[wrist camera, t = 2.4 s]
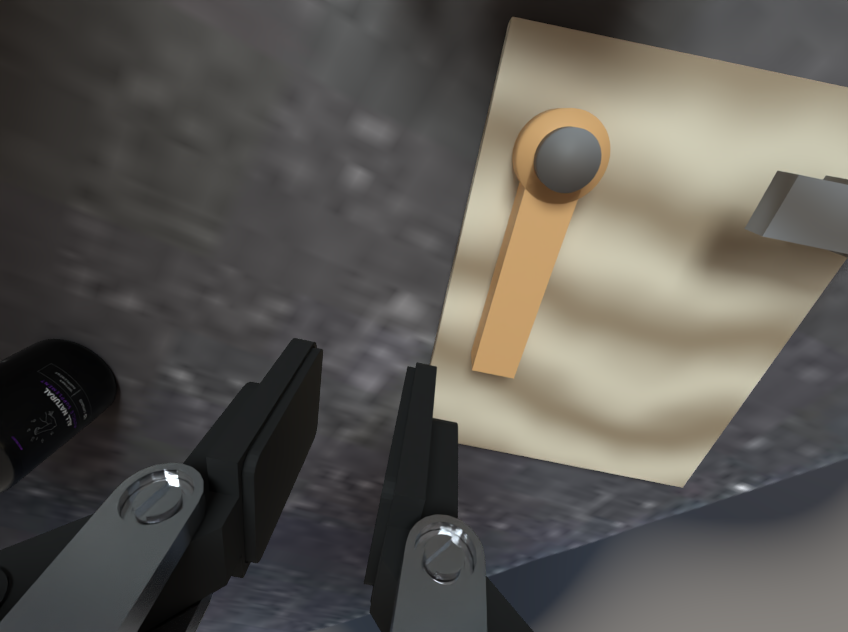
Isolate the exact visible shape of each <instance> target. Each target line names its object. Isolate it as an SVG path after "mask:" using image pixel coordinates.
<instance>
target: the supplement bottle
mask: <svg viewBox="0 0 848 632" xmlns="http://www.w3.org/2000/svg"><path fill="white" fill-rule="evenodd" d="M115 396H116V382H115V378H114V376H113V374H112V372H111V370H110V369H109V367H108V366H107V365H106V363H105V362H104V361H103V360H102V359H101V358H100V357H99V356H97V355H96V354H95V353H94V352H92V351H91V350H89V349H87V348H86V347H84V346H82V345H79V344H77V343H74V342H71V341H67V340H61V339H48V340H43V341H40V342H37V343H35V344H33V345H31V346H29V347H27V348H25V349H23V350H21V351H19V352H17V353H15V354H13V355H11V356H9V357H8V358H6V359H4V360H2V361H0V493H2V492H4V491H6V490H8V489H9V488H11V487H12V486H13V485H15V484H16V483H17V482H19V481H20V480H21V479H22V478H24V477H25V476H26V475H27V474H28V473H30V472H31V471H32V470H33V469H34V468H36V467H37V466H38V465H39V464H41V463H42V462H43V461H44V460H45V459H47V458H48V457H49V456H50V455H52V454H53V453H54V452H55V451H56V450H58V449H59V448H60V447H61V446H63V445H64V444H65V443H66V442H67V441H69V440H70V439H71V438H72V437H74V436H75V435H76V434H77V433H78V432H80V431H81V430H82V429H83V428H85V427H86V426H87V425H88V424H89V423H91V422H92V421H93V420H94V419H95V418H97V417H98V416H99V415H100V414H101V413H103V412H104V411H105V410H106V409H107V408H108V407H109V406H110V405H111V404H112V403H113V401H114V399H115Z"/></svg>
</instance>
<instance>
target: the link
mask: <svg viewBox="0 0 848 632" xmlns="http://www.w3.org/2000/svg"><path fill="white" fill-rule="evenodd" d="M566 126H571V127H578V128H582V129H585V130H587V131H589V132H591V133H592V134H593V135H594V136H595V137H596V139H597V140H598V142H599V144H600V147H601V154H602V156H601V164H600V167H599V169H598V172H597V174H596V175H595V177H594V178H593V179H592V180H591V182H590V183H589V184H587V185H586V186H585V187H583V188H582V189H580V190H578V191H575V192H571V193H558V192H555V191H552V190H551V189H549V188H548V187H546V186H545V185H544V184H543V183H542V182H541V181H540V180H539V178H538V177H537V175H536V173H535V170H534V155H535V152H536V149H537V147H538V145H539V143H540V142H541V140H542V139H543V138H544V137H545V136H546V135H547V134H549V133H550V132H551V131H553V130H555V129H557V128H561V127H566ZM609 158H610V140H609V136H608V133H607V130H606V129H605V127H604V125H603V124H602V122H601V121H600V120H599V119H598V118H597V117H596V116H594V115H593V114H591V113H589V112H587V111H585V110H582V109H577V108H555V109H550V110H546V111H544V112H542V113H539V114H538V115H536V116H535V117H533V118H532V119H531V120H530V121H529V122H528V123H527V124H526V125H525V126H524V127H523V128H522V130H521V131H520V133H519V134H518V137H517V139H516V141H515V144H514V148H513V154H512V163H513V168H514V172H515V174H516V176H517V178H518V180H519V181H520V182H519V186H518V189H517V193H516V196H515V200H514V203H513V207H512V210H511V214H510V217H509V221H508V224H507V228H506V231H505V235H504V238H503V242H502V245H501V249H500V252H499V256H498V259H497V263H496V266H495V270H494V273H493V277H492V280H491V284H490V287H489V291H488V294H487V298H486V301H485V305H484V308H483V312H482V315H481V319H480V322H479V326H478V329H477V333H476V337H475V340H474V344H473V347H472V351H471V360H472V370H473V371H478V372H483V373H488V374H493V375H498V376H503V377H508V378H513V379H514V377H515V374H516V371H517V368H518V366H519V363H520V360H521V357H522V354H523V352H524V349H525V346H526V343H527V341H528V338H529V335H530V332H531V329H532V327H533V324H534V321H535V318H536V315H537V313H538V310H539V307H540V304H541V301H542V299H543V296H544V293H545V290H546V287H547V285H548V282H549V279H550V276H551V273H552V271H553V268H554V265H555V262H556V260H557V257H558V254H559V251H560V248H561V246H562V243H563V240H564V237H565V234H566V232H567V229H568V226H569V223H570V220H571V218H572V215H573V212H574V209H575V206H576V204H577V201H578V199H580V198H582V197H583V196H585V195H586V194H588V193H589V192H590V191H591V190H592V189H593V188H594V187H595V186H596V185H597V184H598V183H599V181H600V180H601V179H602V177H603V175H604V173H605V171H606V169H607V166H608V163H609Z"/></svg>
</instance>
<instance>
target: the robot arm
mask: <svg viewBox="0 0 848 632" xmlns="http://www.w3.org/2000/svg"><path fill="white" fill-rule="evenodd" d="M322 360H323V350H322V349H318V348H317V345H316V343H315V342H312V341H307V340H302V339H297V338H293V339H292V340H291V342H290V343H289V344H288V346H287V347H286V349H285V350H284V351H283V353H282V354H281V355H280V357H279V358H278V360H277V361H276V362H275V364H274V365H273V366H272V368H271V369H270V370H269V372H268V373H267V375H266V376H265V377H264V379H263V380H262V381H261V383H260V384H259V383H254V382H249V383H247V384H246V385H245V386H244V387H243V388H242V389H241V390H240V392H239V393H238V394H237V395H236V397H235V398H234V399H233V401H232V402H231V403H230V404H229V406H228V407H227V408H226V409H225V411H224V412H223V413H222V415H221V416H220V417H219V418H218V420H217V421H216V422H215V424H214V425H213V426H212V427H211V429H210V430H209V431H208V432H207V434H206V435H205V436H204V438H203V439H202V440H201V441H200V443H199V444H198V445H197V447H196V448H195V449H194V450H193V452H192V453H191V454H190V456H189V457H188V458H187V459H186V461H185V462H184V463H183V464H182V463H165V464H159V465H154V466H151V467H149V468H146V469H143V470H141V471H139V472H137V473H135V474H134V475H132V476H130V477H129V478H127V479H126V480H125V481H124V482H123V483H122V484H121V485H119V486H118V487H117V488H116V489H115V490H114V492H113V493H112V494H111V495H110V496H109V497H108V498H107V500H106V501H105V502H104V503H103V504H102V505H101V507H100V508H99V509H98V510H97V511H96V512H95V513H94V514H92V515H89V516H87V517H84V518H82V519H79V520H77V521H74V522H72V523H69V524H66V525H64V526H61V527H59V528H56V529H54V530H51V531H49V532H46V533H43V534H41V535H38V536H36V537H33V538H31V539H28V540H25V541H23V542H20V543H18V544H15V545H13V546H10V547H8V548H5V549H2V550H0V632H196V630H197V628H198V626H199V624H200V622H201V620H202V618H203V615H204V613H205V611H206V609H207V607H208V605H209V603H210V601H211V598H212V595H213V592H215V591H217V590H219V589H220V588H222V587H224V586H226V585H227V583H228V581H229V579H230V577H231V576H234V577H240V578H243V577H244V575H245V573H246V571H247V569H248V567H249V564H250V562H253V563H258V562H259V561H260V559H261V557H262V555H263V553H264V551H265V549H266V546H267V544H268V542H269V540H270V537H271V535H272V533H273V531H274V528H275V526H276V524H277V522H278V519H279V517H280V515H281V513H282V510H283V508H284V506H285V504H286V501H287V499H288V497H289V495H290V492H291V490H292V488H293V486H294V483H295V481H296V479H297V477H298V474H299V472H300V470H301V467H302V465H303V463H304V461H305V458H306V456H307V454H308V452H309V449H310V447H311V445H312V443H313V440H314V438H315V435H316V431H317V424H318V411H319V398H320V385H321V372H322ZM436 375H437V366H432V365H427V364H422V363H416V368H413V367H407V372H406V377H405V382H404V387H403V391H402V396H401V401H400V406H399V411H398V416H397V421H396V426H395V431H394V435H393V440H392V445H391V450H390V455H389V460H388V465H387V470H386V475H385V479H384V484H383V489H382V494H381V499H380V504H379V509H378V514H377V519H376V524H375V529H374V534H373V539H372V544H371V549H370V555H369V560H368V565H367V570H366V575H365V580H364V584H368V585H373V591H372V596H371V602H370V603H371V607H370V614H371V615H372V617H373V619H374V620H375V622H376V624H377V625H378V627H379V629H380V630H381V632H533V631H532V629H531V628H530V627H529V626H528V625H527V624H526V622H525V621H524V620H523V619H522V618H521V617H520V615H519V614H518V613H517V612H516V611H515V609H514V608H513V607H512V606H511V605H510V603H509V602H508V601H507V600H506V599H505V598H504V596H503V595H502V594H501V593H500V592H499V591H498V589H497V588H496V587H495V586H494V585H493V583H492V582H491V581H490V580H489V579H488V578H487V576H486V568H485V556H484V550H483V547H482V544H481V542H480V540H479V538H478V536H477V535H476V534H475V533H474V531H473V530H472V529H471V528H470V527H469V526H468V525H466V524H465V523H464V522H462V521H461V520H459V519H458V424H457V422H451V421H446V420H441V419H436V418H433V409H434V397H435V386H436Z"/></svg>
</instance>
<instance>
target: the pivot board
mask: <svg viewBox="0 0 848 632" xmlns="http://www.w3.org/2000/svg"><path fill="white" fill-rule="evenodd" d="M555 108H577V109H582V110H585V111H587V112H589V113H591V114H593V115H594V116H596V117H597V118H598V119H599V120H600V121H601V122H602V124H603V125H604V127H605V129H606V130H607V133H608V136H609V140H610V158H609V163H608V166H607V169H606V171H605V173H604V175H603V177H602V179H601V180H600V181H599V183H598V184H597V185H596V186H595V187H594V188H593V189H592V190H591V191H590V192H589V193H588V194H586V195H585V196H583V197H582V198H580V199H578V201H577V204H576V206H575V209H574V212H573V215H572V218H571V220H570V223H569V226H568V229H567V232H566V234H565V237H564V240H563V243H562V246H561V248H560V251H559V254H558V257H557V260H556V262H555V265H554V268H553V271H552V273H551V276H550V279H549V282H548V285H547V287H546V290H545V293H544V296H543V299H542V301H541V304H540V307H539V310H538V313H537V315H536V318H535V321H534V324H533V327H532V329H531V332H530V335H529V338H528V341H527V343H526V346H525V349H524V352H523V354H522V357H521V360H520V363H519V366H518V368H517V371H516V374H515V377H514V379H513V378H508V377H503V376H498V375H493V374H488V373H483V372H478V371H473V370H472V360H471V351H472V347H473V344H474V340H475V337H476V333H477V329H478V326H479V322H480V319H481V315H482V312H483V308H484V305H485V301H486V298H487V294H488V291H489V287H490V284H491V280H492V277H493V273H494V270H495V266H496V263H497V259H498V256H499V252H500V249H501V245H502V242H503V238H504V235H505V231H506V228H507V224H508V221H509V217H510V214H511V210H512V207H513V203H514V200H515V196H516V193H517V189H518V186H519V182H520V181H519V180H518V178H517V176H516V174H515V172H514V168H513V163H512V154H513V148H514V144H515V141H516V139H517V137H518V134H519V133H520V131H521V130H522V128H523V127H524V126H525V125H526V124H527V123H528V122H529V121H530V120H531V119H532V118H533V117H535V116H536V115H538V114H539V113H542V112H544V111H546V110H550V109H555ZM601 156H602V154H601V147H600V144H599V142H598V140H597V139H596V137H595V136H594V135H593V134H592V133H591V132H589V131H587V130H585V129H582V128H578V127H571V126H566V127H561V128H557V129H555V130H553V131H551V132H550V133H549V134H547V135H546V136H545V137H544V138H543V139H542V140H541V142H540V143H539V145H538V147H537V149H536V152H535V155H534V170H535V173H536V175H537V177H538V178H539V180H540V181H541V182H542V183H543V184H544V185H545V186H546V187H548V188H549V189H551V190H552V191H555V192H558V193H571V192H575V191H578V190H580V189H582V188H583V187H585V186H586V185H587V184H589V183H590V182H591V180H592V179H593V178H594V177H595V175H596V174H597V172H598V169H599V167H600V164H601ZM847 258H848V88H847V87H843V86H838V85H833V84H828V83H824V82H819V81H814V80H810V79H805V78H800V77H795V76H791V75H786V74H781V73H777V72H772V71H767V70H762V69H758V68H753V67H748V66H743V65H739V64H734V63H729V62H725V61H720V60H715V59H710V58H706V57H701V56H696V55H692V54H687V53H682V52H677V51H673V50H668V49H663V48H658V47H654V46H649V45H644V44H640V43H635V42H630V41H625V40H621V39H616V38H611V37H607V36H602V35H597V34H592V33H588V32H583V31H578V30H573V29H569V28H564V27H559V26H555V25H550V24H545V23H540V22H536V21H531V20H526V19H522V18H517V17H512V18H511V19H510V21H509V23H508V27H507V31H506V36H505V40H504V44H503V49H502V53H501V57H500V62H499V66H498V70H497V75H496V79H495V83H494V88H493V92H492V96H491V101H490V105H489V109H488V114H487V118H486V122H485V127H484V131H483V135H482V140H481V144H480V148H479V153H478V157H477V161H476V166H475V170H474V174H473V179H472V183H471V187H470V192H469V196H468V200H467V205H466V209H465V213H464V218H463V222H462V226H461V231H460V235H459V239H458V244H457V248H456V252H455V257H454V261H453V265H452V270H451V274H450V278H449V283H448V287H447V291H446V296H445V300H444V304H443V309H442V313H441V317H440V322H439V326H438V330H437V335H436V339H435V343H434V348H433V352H432V356H431V361H430V365H432V366H437V375H436V386H435V397H434V409H433V418H436V419H441V420H446V421H451V422H457V424H458V443H460V444H465V445H470V446H475V447H480V448H485V449H490V450H495V451H500V452H505V453H510V454H515V455H520V456H525V457H531V458H536V459H541V460H546V461H551V462H556V463H561V464H566V465H571V466H576V467H581V468H586V469H591V470H596V471H602V472H607V473H612V474H617V475H622V476H627V477H632V478H637V479H642V480H647V481H652V482H657V483H662V484H667V485H672V486H678V487H683V486H684V485H685V483H686V482H687V481H688V479H689V478H690V476H691V475H692V474H693V472H694V471H695V470H696V468H697V467H698V465H699V464H700V463H701V461H702V460H703V458H704V457H705V456H706V454H707V453H708V451H709V450H710V449H711V447H712V446H713V444H714V443H715V442H716V440H717V439H718V437H719V436H720V435H721V433H722V432H723V430H724V429H725V428H726V426H727V425H728V423H729V422H730V421H731V419H732V418H733V416H734V415H735V414H736V412H737V411H738V409H739V408H740V407H741V405H742V404H743V403H744V401H745V400H746V398H747V397H748V396H749V394H750V393H751V391H752V390H753V389H754V387H755V386H756V384H757V383H758V382H759V380H760V379H761V377H762V376H763V375H764V373H765V372H766V370H767V369H768V368H769V366H770V365H771V363H772V362H773V361H774V359H775V358H776V356H777V355H778V354H779V352H780V351H781V349H782V348H783V347H784V345H785V344H786V343H787V341H788V340H789V338H790V337H791V336H792V334H793V333H794V331H795V330H796V329H797V327H798V326H799V324H800V323H801V322H802V320H803V319H804V317H805V316H806V315H807V313H808V312H809V310H810V309H811V308H812V306H813V305H814V303H815V302H816V301H817V299H818V298H819V296H820V295H821V294H822V292H823V291H824V289H825V288H826V287H827V285H828V284H829V283H830V281H831V280H832V278H833V277H834V276H835V274H836V273H837V271H838V270H839V269H840V267H841V266H842V264H843V263H844V262H845V260H846V259H847Z"/></svg>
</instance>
